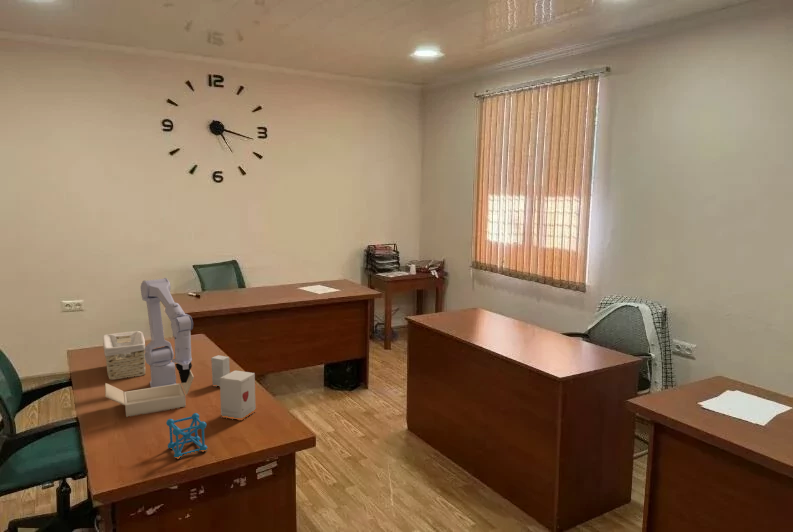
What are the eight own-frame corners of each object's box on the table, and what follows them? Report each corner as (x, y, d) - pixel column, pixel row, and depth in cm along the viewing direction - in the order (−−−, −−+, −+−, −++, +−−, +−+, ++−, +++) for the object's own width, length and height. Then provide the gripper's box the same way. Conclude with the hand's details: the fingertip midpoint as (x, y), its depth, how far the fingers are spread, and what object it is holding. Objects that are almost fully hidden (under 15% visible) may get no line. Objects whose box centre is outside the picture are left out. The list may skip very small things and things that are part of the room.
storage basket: (147, 376, 241) (145, 343, 238) (105, 382, 233) (102, 348, 231) (144, 360, 262) (142, 329, 259) (105, 365, 254) (102, 334, 252)
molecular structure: (208, 452, 174) (207, 422, 172) (175, 461, 168) (173, 430, 166) (199, 440, 182) (197, 411, 180) (167, 448, 176) (165, 418, 174)
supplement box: (241, 421, 196) (240, 380, 193) (220, 418, 199) (218, 377, 197) (256, 412, 204) (255, 372, 202) (236, 408, 207) (234, 369, 205)
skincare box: (230, 384, 231) (229, 356, 229) (223, 388, 227) (222, 359, 225) (219, 382, 234) (218, 354, 232) (212, 385, 230) (210, 357, 228)
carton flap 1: (105, 382, 207) (105, 383, 207) (106, 395, 195) (105, 396, 195) (123, 391, 210) (122, 392, 210) (124, 404, 198) (124, 405, 198)
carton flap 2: (180, 382, 220) (181, 382, 220) (185, 394, 207) (186, 394, 208) (187, 365, 220) (188, 366, 220) (192, 376, 208) (194, 377, 208)
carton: (181, 394, 220) (180, 383, 220) (185, 407, 208) (185, 395, 207) (124, 403, 211) (123, 391, 210) (126, 417, 199) (125, 405, 198)
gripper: (169, 343, 216) (171, 377, 218) (173, 354, 203) (175, 390, 205) (189, 341, 219) (190, 375, 221) (194, 351, 206) (195, 387, 208)
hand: (184, 382), depth 213 cm, fingers closed, pressing on carton flap 2
